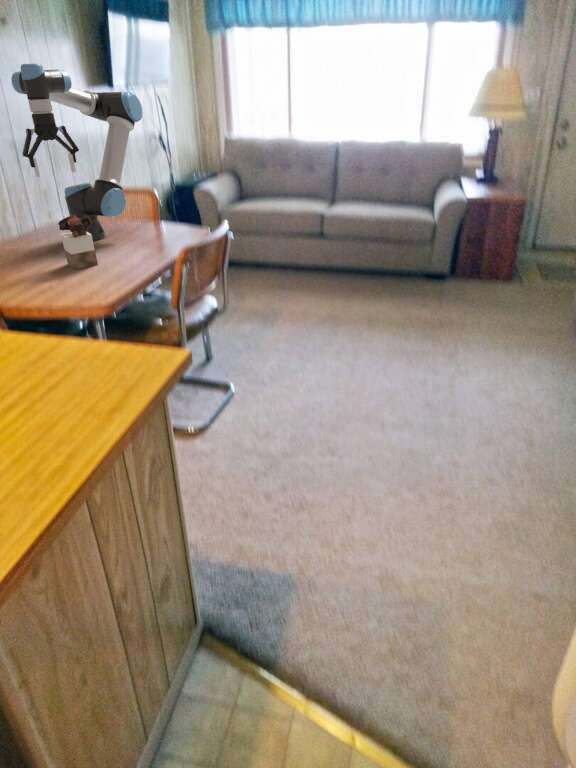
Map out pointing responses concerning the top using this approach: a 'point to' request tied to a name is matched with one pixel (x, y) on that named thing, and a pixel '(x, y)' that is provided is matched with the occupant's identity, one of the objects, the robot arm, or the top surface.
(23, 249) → the top surface
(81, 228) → the pottery mug
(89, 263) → the tower base block
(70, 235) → the tower top block
